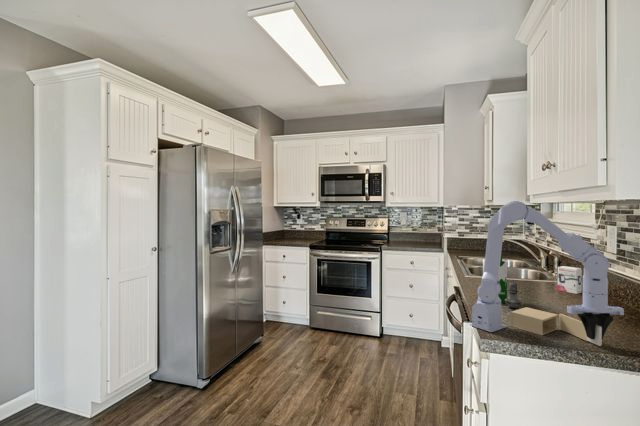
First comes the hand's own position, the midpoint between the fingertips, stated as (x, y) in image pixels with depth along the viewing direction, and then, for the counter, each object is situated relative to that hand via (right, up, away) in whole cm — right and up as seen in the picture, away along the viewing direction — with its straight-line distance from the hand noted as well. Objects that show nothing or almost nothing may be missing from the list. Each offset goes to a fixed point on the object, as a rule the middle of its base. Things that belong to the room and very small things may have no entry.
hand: (594, 338), depth 97 cm
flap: (-1, -2, +5) cm, 5 cm away
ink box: (+40, -1, +62) cm, 74 cm away
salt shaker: (-4, -2, +35) cm, 35 cm away
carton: (-9, -2, +14) cm, 17 cm away
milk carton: (-4, -2, +47) cm, 47 cm away
